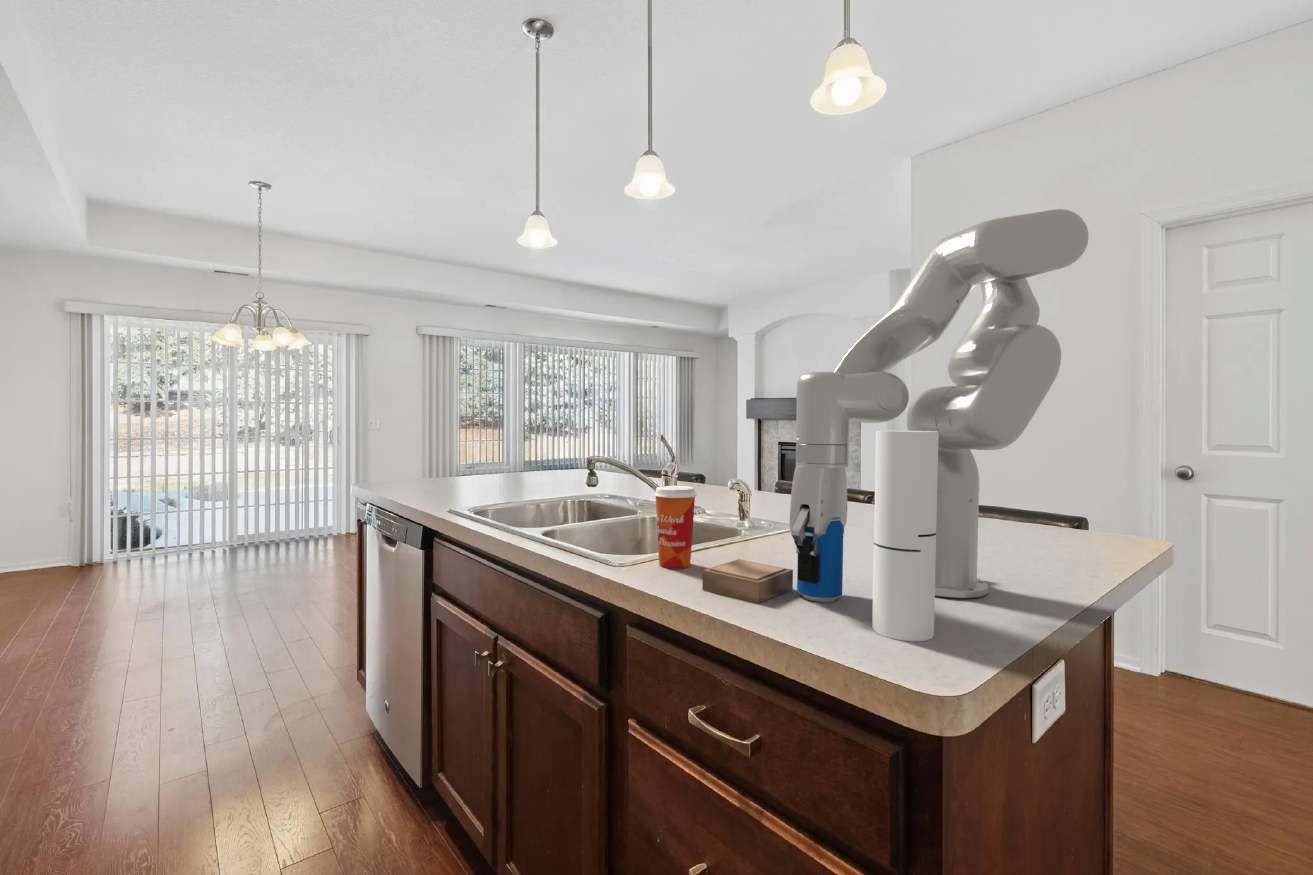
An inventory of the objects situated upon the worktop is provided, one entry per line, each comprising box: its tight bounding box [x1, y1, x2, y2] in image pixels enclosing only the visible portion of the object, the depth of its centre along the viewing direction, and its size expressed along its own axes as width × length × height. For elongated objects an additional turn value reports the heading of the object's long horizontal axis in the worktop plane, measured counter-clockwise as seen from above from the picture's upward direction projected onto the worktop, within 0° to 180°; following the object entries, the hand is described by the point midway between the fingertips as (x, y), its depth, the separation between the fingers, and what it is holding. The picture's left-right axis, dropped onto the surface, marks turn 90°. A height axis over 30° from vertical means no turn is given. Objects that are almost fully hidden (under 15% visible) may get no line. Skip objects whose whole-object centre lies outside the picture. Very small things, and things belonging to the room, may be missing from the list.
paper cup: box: [653, 485, 697, 570], centre depth 106 cm, size 8×8×14 cm
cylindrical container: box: [871, 430, 938, 642], centre depth 74 cm, size 7×7×25 cm
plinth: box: [701, 559, 794, 604], centre depth 92 cm, size 10×10×3 cm
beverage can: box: [796, 518, 845, 603], centre depth 88 cm, size 6×6×12 cm
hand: (819, 575), depth 88 cm, fingers closed on beverage can, 6 cm apart
